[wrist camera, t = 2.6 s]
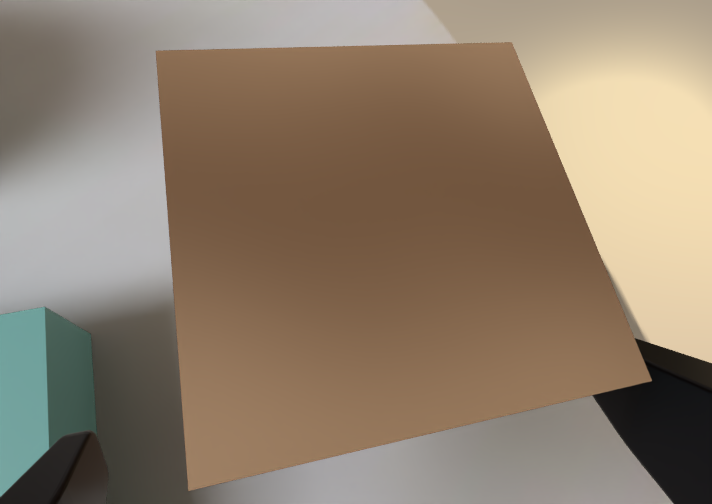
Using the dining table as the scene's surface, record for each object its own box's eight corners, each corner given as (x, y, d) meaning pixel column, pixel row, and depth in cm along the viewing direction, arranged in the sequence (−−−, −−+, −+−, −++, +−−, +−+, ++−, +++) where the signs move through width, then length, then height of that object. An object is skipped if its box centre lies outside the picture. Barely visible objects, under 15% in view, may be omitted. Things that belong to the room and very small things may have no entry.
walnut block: (385, 422, 17) (652, 381, 5) (248, 453, 16) (188, 490, 4) (358, 294, 19) (511, 42, 7) (231, 313, 18) (155, 50, 6)
